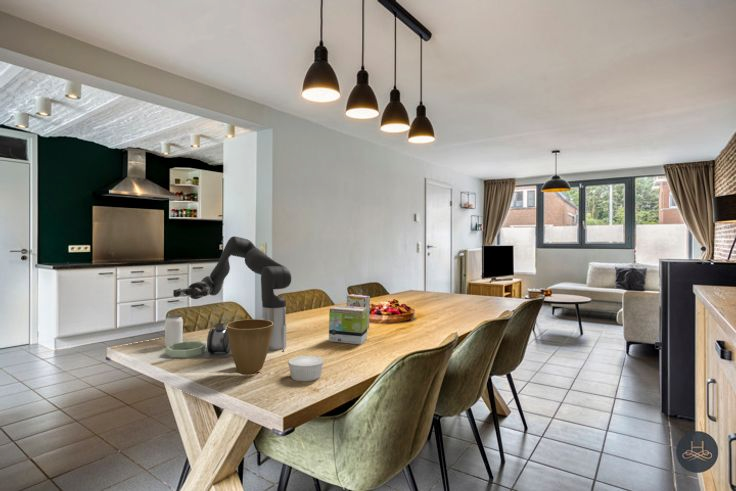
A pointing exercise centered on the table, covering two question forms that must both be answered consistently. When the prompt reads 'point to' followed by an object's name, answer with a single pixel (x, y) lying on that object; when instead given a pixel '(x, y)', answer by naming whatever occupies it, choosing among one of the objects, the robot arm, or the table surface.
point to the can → (173, 330)
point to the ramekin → (305, 368)
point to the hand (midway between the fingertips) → (185, 294)
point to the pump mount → (191, 351)
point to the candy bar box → (359, 303)
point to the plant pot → (249, 343)
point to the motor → (218, 339)
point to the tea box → (348, 324)
